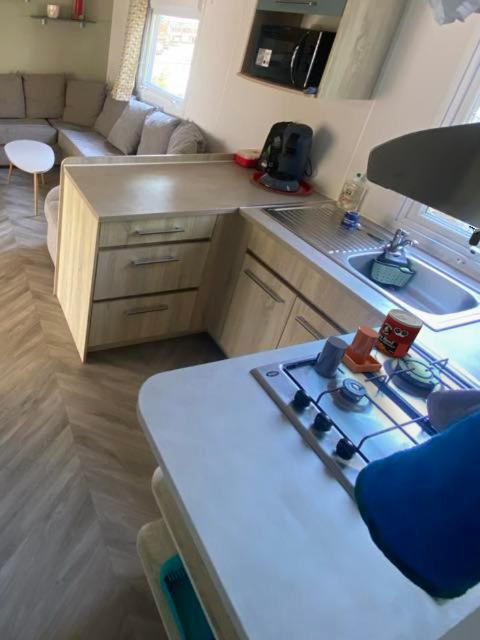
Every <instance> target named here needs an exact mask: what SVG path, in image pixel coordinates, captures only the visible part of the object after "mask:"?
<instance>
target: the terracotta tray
mask: <svg viewBox="0 0 480 640" xmlns="http://www.w3.org/2000/svg"><path fill="white" fill-rule="evenodd" d="M350 345H351V344H348V349H349V347H350ZM348 349H347V351H348ZM347 351H346V353H347ZM346 353H345V355H344V357H343V359H342V361H341V362H343V363H344V364H345V365H346V366H347V367H348V368H349V369H350V370H351V371H352V372H353V373H371V372H373V373H374V372H380V371H381V369H382V368H383V364H382V363H381V362H380V361H379V360H378V359H376V358H375V357H374V356H373V355H372V354H371V353H370V355H369V357H368V359H367V361H366V363H365V364H364V365H359V364H356V363H354V362H353V361H352V360H351V359H350V358H349V357H348V356H347V355H346Z"/></svg>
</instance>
